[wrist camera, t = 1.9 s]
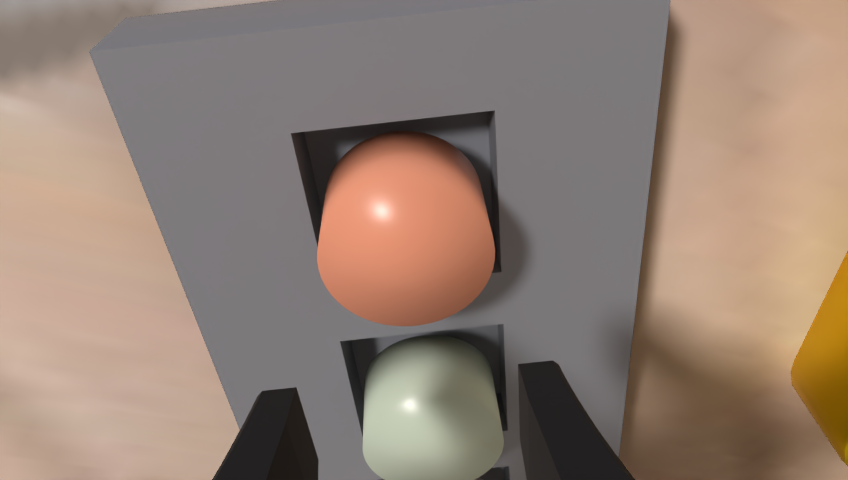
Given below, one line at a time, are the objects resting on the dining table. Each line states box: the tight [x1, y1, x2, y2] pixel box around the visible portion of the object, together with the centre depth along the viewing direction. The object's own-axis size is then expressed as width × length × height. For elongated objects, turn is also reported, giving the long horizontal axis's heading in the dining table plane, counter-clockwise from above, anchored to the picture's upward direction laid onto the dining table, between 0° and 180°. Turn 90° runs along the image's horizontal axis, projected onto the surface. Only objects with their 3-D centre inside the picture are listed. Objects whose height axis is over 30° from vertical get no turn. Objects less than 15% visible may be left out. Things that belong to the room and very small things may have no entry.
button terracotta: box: [317, 131, 495, 326], centre depth 17 cm, size 4×4×3 cm
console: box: [89, 0, 670, 480], centre depth 23 cm, size 13×24×2 cm, turn 6°
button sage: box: [362, 335, 504, 480], centre depth 21 cm, size 4×4×3 cm
